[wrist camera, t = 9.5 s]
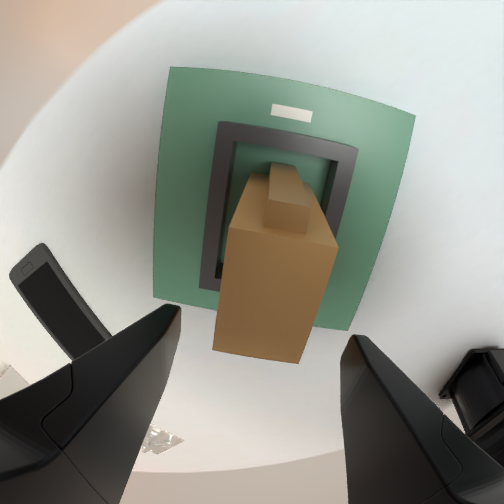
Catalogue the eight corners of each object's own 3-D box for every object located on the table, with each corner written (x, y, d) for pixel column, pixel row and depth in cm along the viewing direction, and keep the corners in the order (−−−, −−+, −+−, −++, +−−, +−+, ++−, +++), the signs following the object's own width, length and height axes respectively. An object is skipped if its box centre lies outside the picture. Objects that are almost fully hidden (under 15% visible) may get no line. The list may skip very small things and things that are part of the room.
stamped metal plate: (133, 408, 28) (129, 418, 27) (185, 436, 30) (183, 446, 29) (112, 427, 31) (109, 435, 30) (158, 451, 33) (155, 459, 32)
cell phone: (45, 237, 20) (40, 241, 19) (143, 367, 25) (140, 372, 24) (10, 270, 22) (6, 274, 21) (95, 378, 26) (92, 383, 26)
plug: (290, 260, 17) (298, 363, 10) (238, 250, 17) (212, 349, 10) (312, 168, 15) (346, 220, 8) (253, 157, 15) (233, 197, 8)
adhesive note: (42, 395, 30) (23, 426, 25) (30, 401, 32) (14, 428, 27) (10, 364, 28) (-11, 394, 23) (2, 373, 30) (-17, 400, 25)
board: (344, 319, 20) (352, 348, 18) (159, 287, 20) (143, 313, 17) (406, 115, 14) (431, 116, 11) (177, 69, 14) (157, 61, 11)
